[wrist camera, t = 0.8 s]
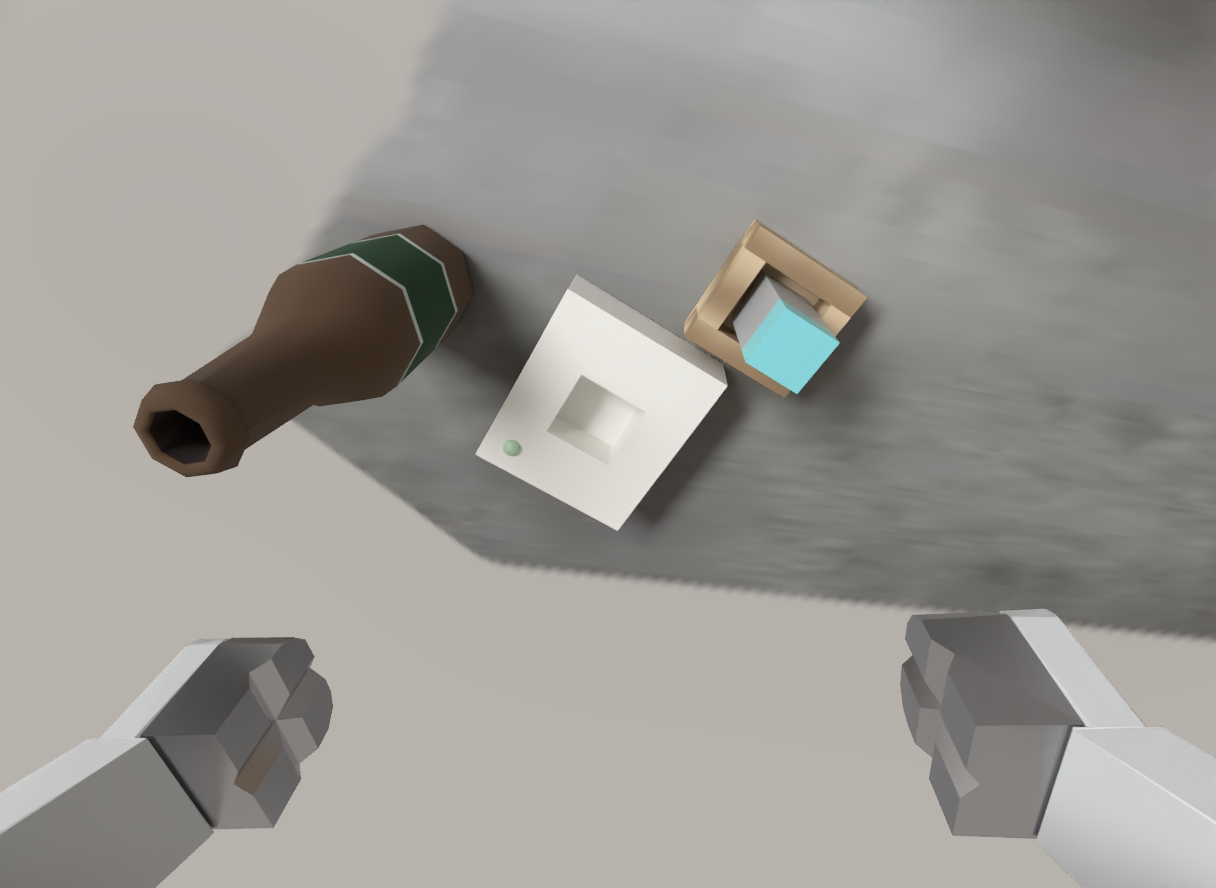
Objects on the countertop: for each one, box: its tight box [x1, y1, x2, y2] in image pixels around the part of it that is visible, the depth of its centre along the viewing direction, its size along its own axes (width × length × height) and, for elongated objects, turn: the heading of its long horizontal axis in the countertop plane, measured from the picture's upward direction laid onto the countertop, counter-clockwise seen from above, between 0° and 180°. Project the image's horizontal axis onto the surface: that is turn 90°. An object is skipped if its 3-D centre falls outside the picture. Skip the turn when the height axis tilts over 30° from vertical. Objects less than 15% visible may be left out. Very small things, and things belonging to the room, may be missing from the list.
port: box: [475, 274, 728, 531], centre depth 43 cm, size 14×12×4 cm
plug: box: [731, 271, 840, 394], centre depth 37 cm, size 4×4×9 cm
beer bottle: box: [133, 225, 474, 477], centre depth 32 cm, size 8×8×24 cm
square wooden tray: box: [684, 219, 868, 398], centre depth 40 cm, size 8×8×3 cm
